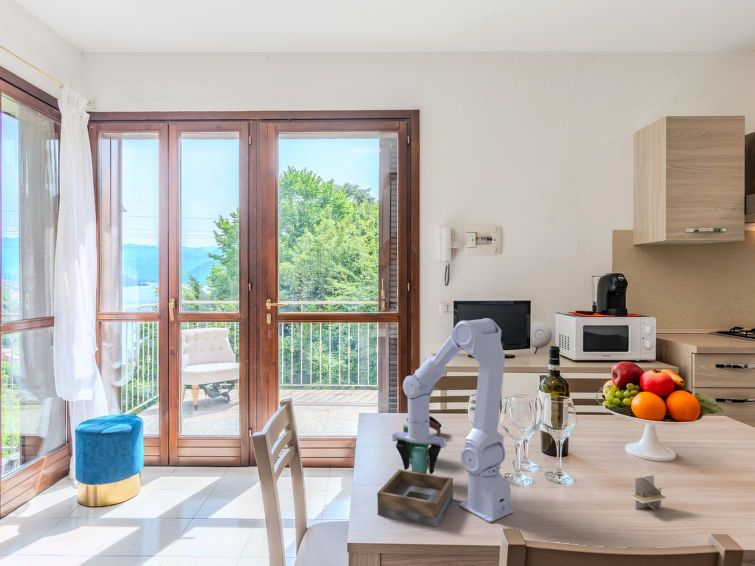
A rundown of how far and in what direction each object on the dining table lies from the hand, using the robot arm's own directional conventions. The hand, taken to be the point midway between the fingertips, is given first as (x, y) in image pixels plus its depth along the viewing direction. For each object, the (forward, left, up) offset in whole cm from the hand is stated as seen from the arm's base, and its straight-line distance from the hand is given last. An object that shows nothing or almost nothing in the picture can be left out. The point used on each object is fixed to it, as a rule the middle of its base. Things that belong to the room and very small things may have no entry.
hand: (419, 470), depth 125 cm
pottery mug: (+25, -23, -3) cm, 34 cm away
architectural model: (-43, -33, -3) cm, 54 cm away
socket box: (-11, +10, -2) cm, 15 cm away
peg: (0, 0, -2) cm, 2 cm away
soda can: (+11, -8, -3) cm, 14 cm away
